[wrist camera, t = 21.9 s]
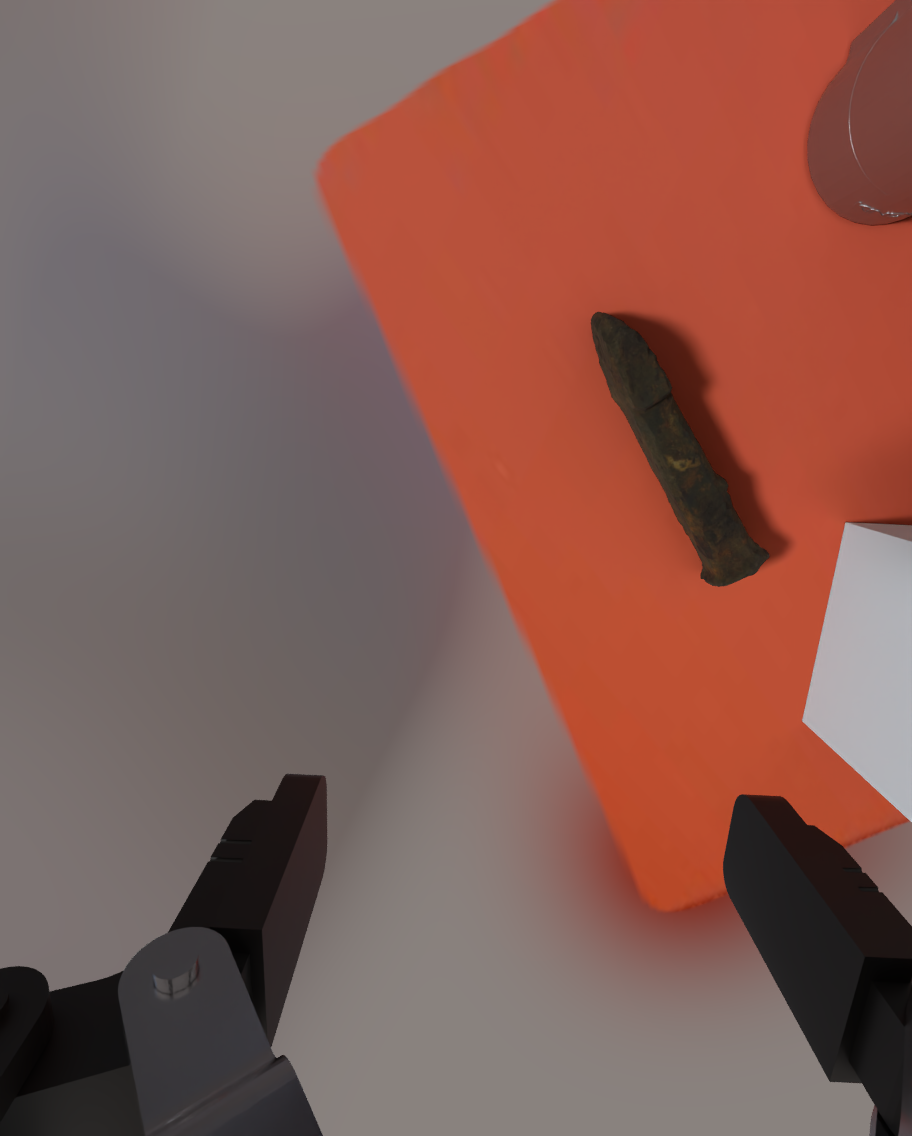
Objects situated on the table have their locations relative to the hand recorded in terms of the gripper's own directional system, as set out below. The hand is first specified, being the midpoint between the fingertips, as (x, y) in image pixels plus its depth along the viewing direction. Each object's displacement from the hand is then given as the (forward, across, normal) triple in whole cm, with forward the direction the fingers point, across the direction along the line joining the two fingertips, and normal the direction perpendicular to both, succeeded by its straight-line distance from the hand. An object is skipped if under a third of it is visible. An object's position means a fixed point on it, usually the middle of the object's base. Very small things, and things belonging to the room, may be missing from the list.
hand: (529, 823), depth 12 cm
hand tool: (+30, +11, +6) cm, 33 cm away
